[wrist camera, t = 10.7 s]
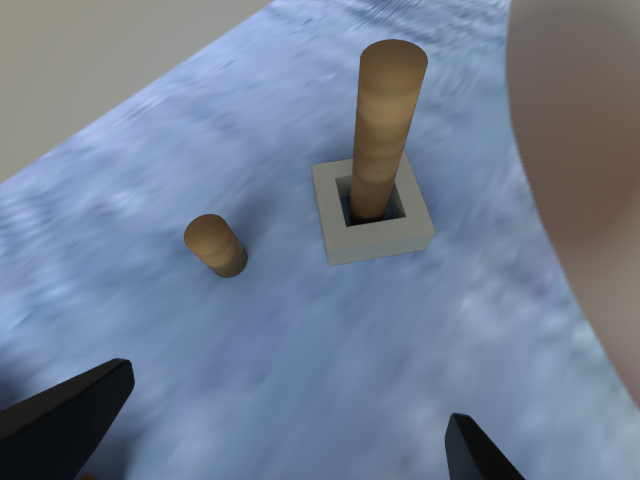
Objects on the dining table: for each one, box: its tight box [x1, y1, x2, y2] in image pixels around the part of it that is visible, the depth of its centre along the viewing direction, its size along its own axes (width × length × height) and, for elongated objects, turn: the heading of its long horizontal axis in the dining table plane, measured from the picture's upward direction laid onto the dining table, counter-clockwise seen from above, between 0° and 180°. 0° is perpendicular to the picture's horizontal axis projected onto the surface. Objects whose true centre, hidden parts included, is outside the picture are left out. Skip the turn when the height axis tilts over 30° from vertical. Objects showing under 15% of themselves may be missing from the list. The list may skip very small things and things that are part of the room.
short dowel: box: [184, 214, 247, 278], centre depth 23 cm, size 3×3×5 cm
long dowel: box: [349, 39, 428, 226], centre depth 20 cm, size 3×3×14 cm
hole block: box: [311, 150, 436, 266], centre depth 25 cm, size 8×8×3 cm
